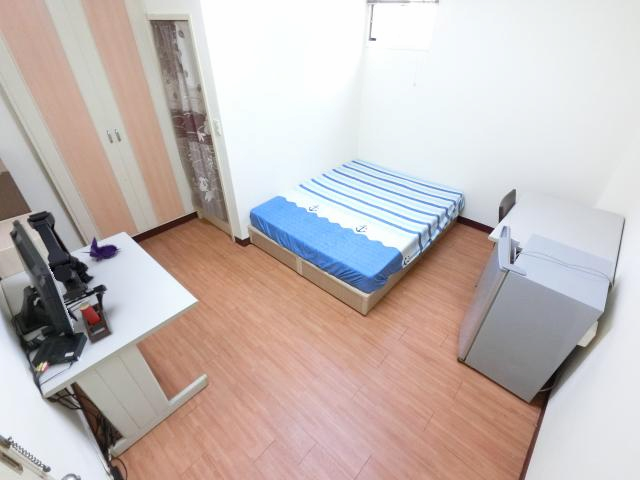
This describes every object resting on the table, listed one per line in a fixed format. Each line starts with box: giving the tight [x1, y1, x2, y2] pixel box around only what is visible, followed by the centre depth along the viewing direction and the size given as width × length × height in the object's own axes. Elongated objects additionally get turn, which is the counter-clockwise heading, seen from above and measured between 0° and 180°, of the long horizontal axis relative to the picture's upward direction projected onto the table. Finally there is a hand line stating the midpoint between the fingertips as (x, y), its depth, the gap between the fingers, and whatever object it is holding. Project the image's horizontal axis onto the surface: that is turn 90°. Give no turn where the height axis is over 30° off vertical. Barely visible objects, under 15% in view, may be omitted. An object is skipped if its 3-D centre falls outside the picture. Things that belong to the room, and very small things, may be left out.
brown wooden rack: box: [80, 302, 112, 344], centre depth 128 cm, size 19×7×3 cm, turn 42°
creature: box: [81, 236, 120, 262], centre depth 159 cm, size 9×18×12 cm, turn 123°
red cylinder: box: [77, 301, 102, 325], centre depth 125 cm, size 4×4×12 cm
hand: (90, 315), depth 123 cm, fingers open, 9 cm apart
